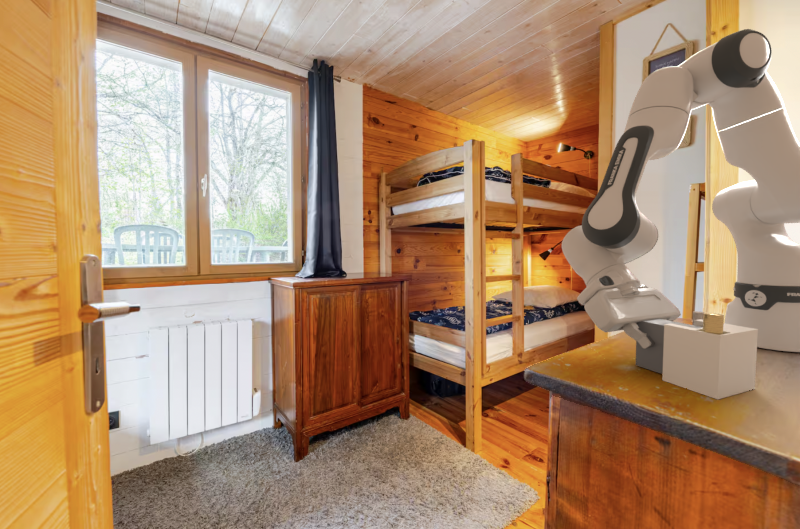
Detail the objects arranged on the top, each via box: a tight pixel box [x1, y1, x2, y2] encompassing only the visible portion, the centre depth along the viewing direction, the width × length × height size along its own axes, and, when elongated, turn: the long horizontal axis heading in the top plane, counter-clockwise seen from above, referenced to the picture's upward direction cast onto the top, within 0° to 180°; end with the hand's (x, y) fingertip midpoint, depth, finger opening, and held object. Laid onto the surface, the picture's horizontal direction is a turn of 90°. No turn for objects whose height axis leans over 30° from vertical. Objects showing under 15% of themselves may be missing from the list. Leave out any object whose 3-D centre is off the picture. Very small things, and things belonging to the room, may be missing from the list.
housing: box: [662, 319, 758, 400], centre depth 58 cm, size 10×8×10 cm
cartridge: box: [635, 319, 703, 375], centre depth 63 cm, size 5×9×9 cm, turn 20°
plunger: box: [703, 312, 725, 335], centre depth 55 cm, size 2×2×6 cm
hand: (661, 344), depth 65 cm, fingers closed on cartridge, 5 cm apart
